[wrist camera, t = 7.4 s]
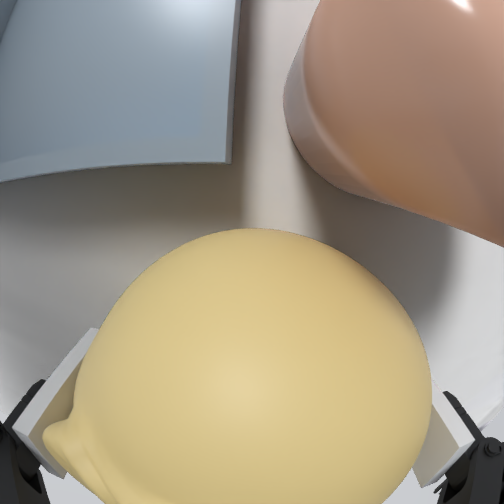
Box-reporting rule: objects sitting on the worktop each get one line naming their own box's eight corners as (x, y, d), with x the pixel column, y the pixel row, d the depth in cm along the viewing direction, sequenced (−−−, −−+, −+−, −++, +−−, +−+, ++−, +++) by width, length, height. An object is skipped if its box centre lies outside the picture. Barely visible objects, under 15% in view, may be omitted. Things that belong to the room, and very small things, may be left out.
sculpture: (108, 348, 14) (19, 499, 3) (223, 157, 11) (4, 76, 1) (268, 431, 16) (278, 576, 5) (405, 300, 13) (536, 446, 3)
